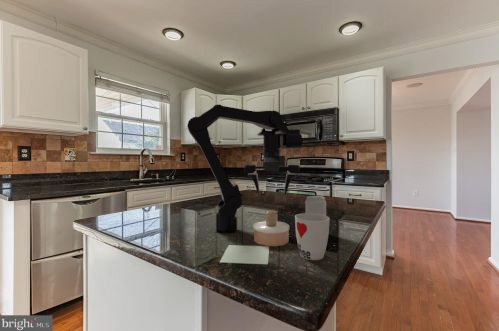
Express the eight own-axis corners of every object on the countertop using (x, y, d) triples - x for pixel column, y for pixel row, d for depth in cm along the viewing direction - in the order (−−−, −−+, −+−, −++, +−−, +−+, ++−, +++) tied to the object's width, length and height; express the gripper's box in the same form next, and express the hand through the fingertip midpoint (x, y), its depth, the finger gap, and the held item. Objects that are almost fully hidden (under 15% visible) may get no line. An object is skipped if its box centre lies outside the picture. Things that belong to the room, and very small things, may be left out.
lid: (251, 233, 65) (251, 215, 65) (254, 223, 76) (254, 207, 76) (290, 234, 64) (290, 216, 64) (288, 223, 75) (288, 208, 74)
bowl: (253, 247, 66) (252, 232, 66) (255, 236, 75) (255, 223, 75) (289, 248, 65) (289, 233, 65) (287, 236, 74) (287, 224, 74)
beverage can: (327, 238, 73) (327, 198, 73) (305, 236, 75) (305, 198, 74) (325, 231, 79) (325, 195, 79) (305, 230, 81) (305, 195, 80)
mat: (219, 264, 55) (219, 262, 55) (228, 247, 66) (228, 245, 66) (267, 266, 54) (267, 264, 54) (269, 248, 65) (269, 246, 65)
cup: (291, 252, 62) (291, 213, 62) (321, 250, 63) (321, 212, 63) (300, 265, 54) (300, 221, 54) (335, 264, 55) (335, 220, 55)
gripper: (241, 148, 76) (241, 197, 76) (301, 147, 74) (301, 198, 74) (245, 149, 87) (246, 192, 87) (298, 149, 85) (298, 193, 85)
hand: (271, 194), depth 83 cm, fingers open, 9 cm apart
